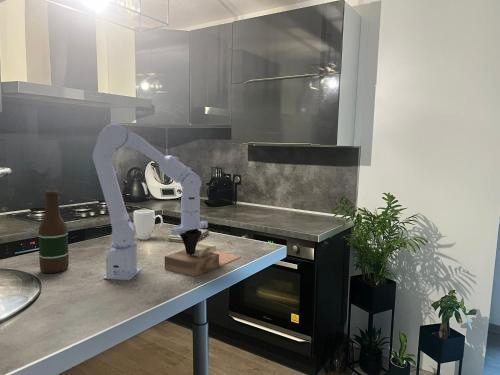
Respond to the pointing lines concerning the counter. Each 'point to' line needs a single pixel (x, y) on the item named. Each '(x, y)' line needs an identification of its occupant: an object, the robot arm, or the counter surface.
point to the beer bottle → (53, 237)
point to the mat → (226, 257)
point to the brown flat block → (191, 263)
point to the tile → (203, 249)
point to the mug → (145, 223)
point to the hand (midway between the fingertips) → (190, 253)
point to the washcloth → (179, 240)
